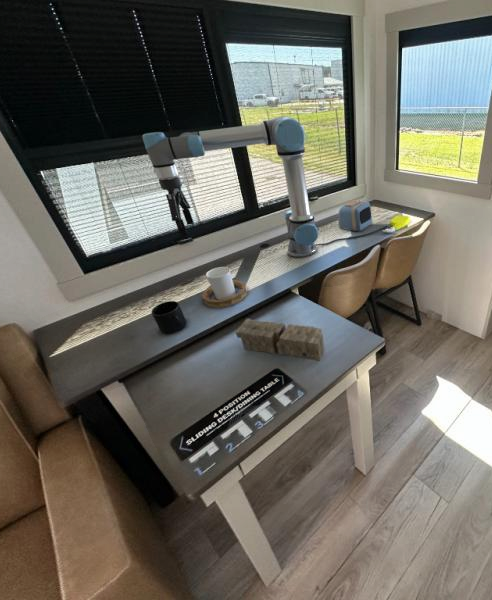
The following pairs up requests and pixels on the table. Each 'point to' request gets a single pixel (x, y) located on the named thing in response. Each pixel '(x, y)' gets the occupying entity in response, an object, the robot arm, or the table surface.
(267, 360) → the table surface
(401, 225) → the spray bottle
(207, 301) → the stand
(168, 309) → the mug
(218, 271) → the white cup
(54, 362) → the table surface
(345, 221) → the alarm clock
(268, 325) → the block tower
